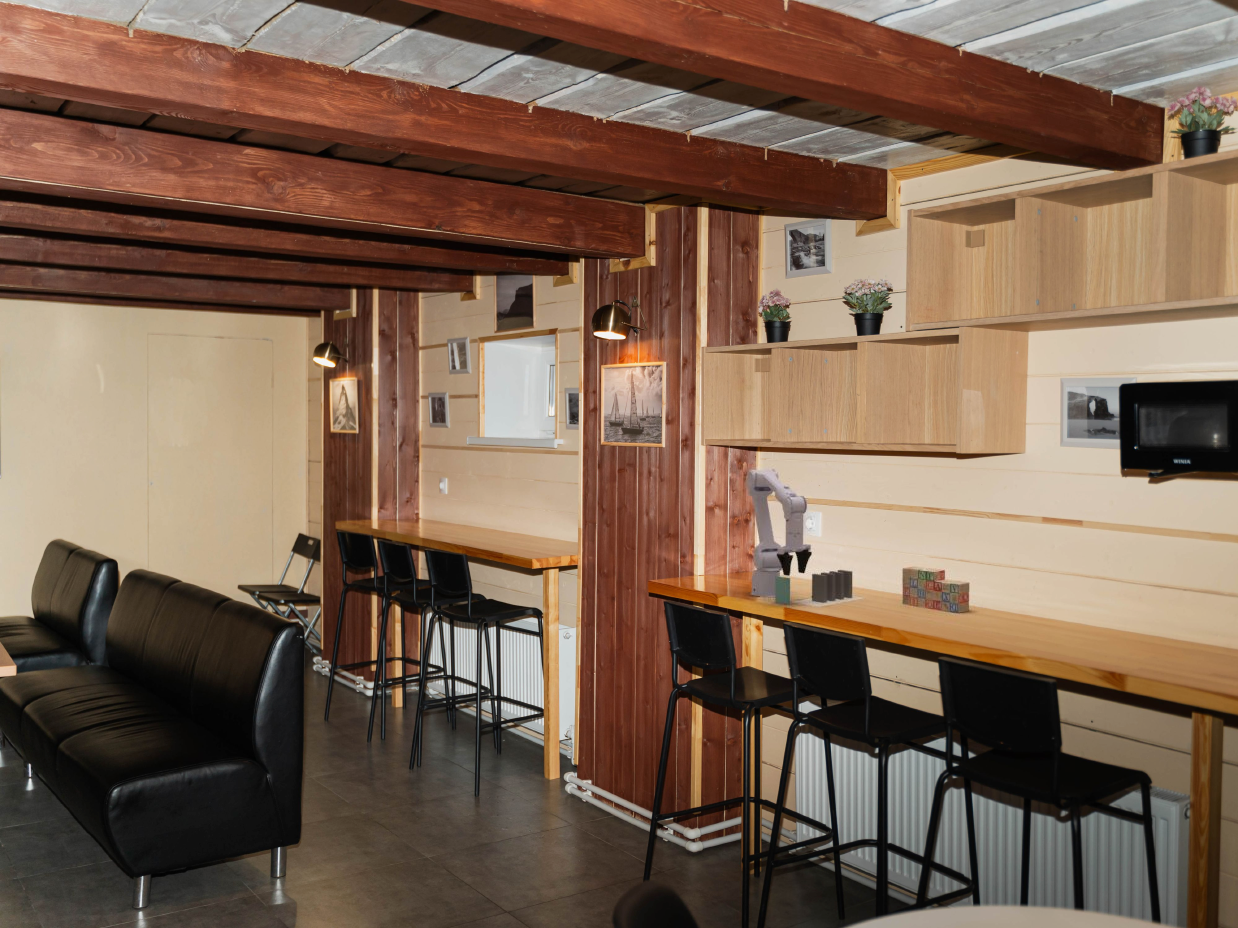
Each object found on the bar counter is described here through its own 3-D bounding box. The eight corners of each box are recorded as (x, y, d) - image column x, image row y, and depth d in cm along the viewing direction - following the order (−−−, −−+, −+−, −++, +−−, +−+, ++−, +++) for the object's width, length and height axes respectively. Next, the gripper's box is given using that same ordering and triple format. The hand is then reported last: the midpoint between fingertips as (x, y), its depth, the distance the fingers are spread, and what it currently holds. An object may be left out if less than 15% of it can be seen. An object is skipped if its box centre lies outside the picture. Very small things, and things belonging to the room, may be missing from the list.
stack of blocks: (969, 611, 338) (970, 572, 338) (958, 613, 334) (958, 574, 334) (913, 602, 355) (913, 565, 354) (901, 604, 351) (902, 567, 350)
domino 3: (832, 601, 354) (832, 574, 354) (820, 599, 358) (820, 572, 358) (835, 600, 355) (835, 573, 355) (823, 598, 359) (823, 572, 359)
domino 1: (786, 605, 349) (786, 578, 348) (775, 603, 353) (775, 576, 352) (790, 605, 350) (790, 578, 349) (778, 603, 354) (778, 576, 353)
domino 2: (823, 602, 352) (823, 575, 351) (811, 600, 355) (812, 574, 355) (826, 602, 353) (826, 575, 352) (815, 600, 356) (815, 573, 356)
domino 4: (840, 599, 357) (841, 573, 357) (829, 597, 361) (829, 571, 361) (843, 599, 358) (844, 572, 358) (832, 597, 362) (832, 570, 362)
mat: (789, 603, 353) (789, 601, 353) (837, 594, 369) (837, 593, 369) (818, 608, 344) (818, 606, 344) (865, 599, 360) (865, 598, 360)
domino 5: (849, 598, 360) (849, 571, 360) (837, 596, 364) (837, 570, 364) (852, 597, 361) (852, 571, 361) (840, 595, 365) (840, 569, 365)
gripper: (789, 535, 341) (789, 577, 342) (818, 532, 351) (817, 573, 351) (772, 533, 347) (772, 575, 347) (801, 530, 356) (801, 570, 357)
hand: (794, 574), depth 350 cm, fingers open, 7 cm apart
